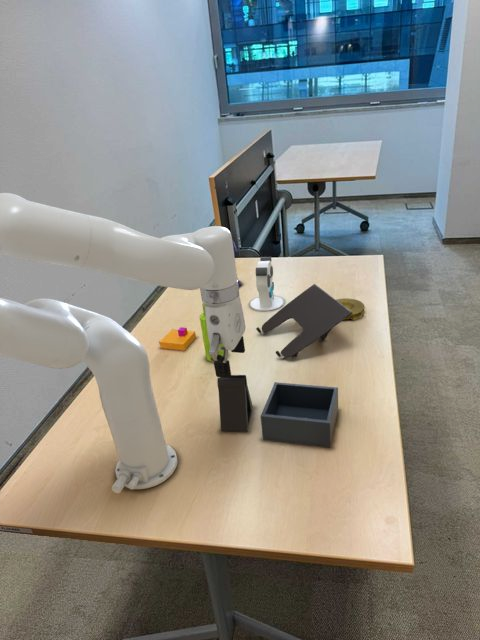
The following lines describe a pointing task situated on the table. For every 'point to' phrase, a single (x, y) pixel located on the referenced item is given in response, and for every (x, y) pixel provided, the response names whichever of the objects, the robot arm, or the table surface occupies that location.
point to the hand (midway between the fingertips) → (231, 363)
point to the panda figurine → (265, 287)
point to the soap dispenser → (205, 335)
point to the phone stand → (234, 403)
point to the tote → (300, 414)
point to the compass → (353, 307)
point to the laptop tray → (308, 318)
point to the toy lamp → (235, 253)
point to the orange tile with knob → (178, 339)
